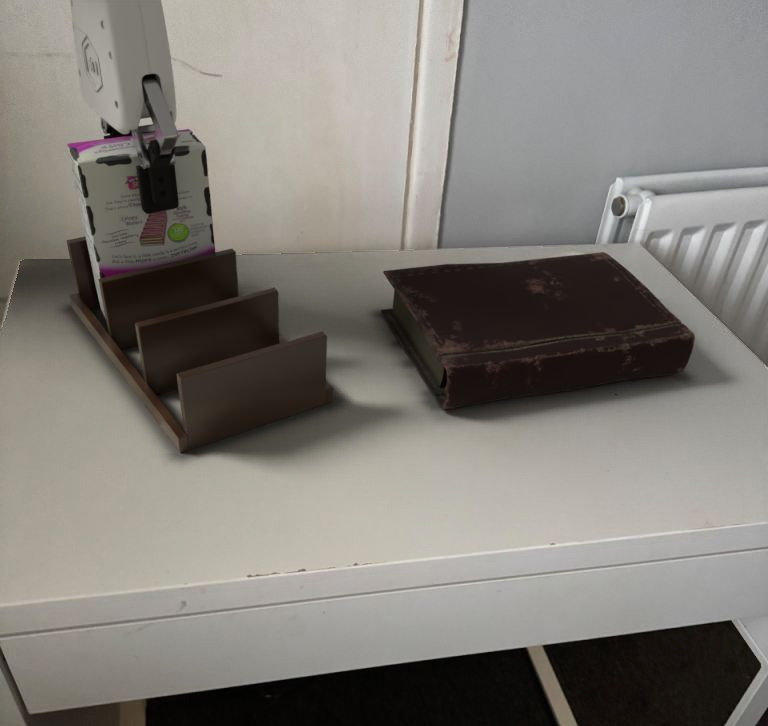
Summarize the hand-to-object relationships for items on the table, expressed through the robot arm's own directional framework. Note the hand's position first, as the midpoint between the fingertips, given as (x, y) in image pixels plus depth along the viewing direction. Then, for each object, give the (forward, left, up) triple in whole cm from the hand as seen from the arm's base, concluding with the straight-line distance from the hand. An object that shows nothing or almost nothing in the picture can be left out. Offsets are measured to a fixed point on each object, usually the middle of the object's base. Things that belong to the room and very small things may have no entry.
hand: (144, 192), depth 75 cm
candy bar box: (0, 0, -12) cm, 12 cm away
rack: (+8, 0, -12) cm, 15 cm away
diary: (+22, +29, -12) cm, 39 cm away
